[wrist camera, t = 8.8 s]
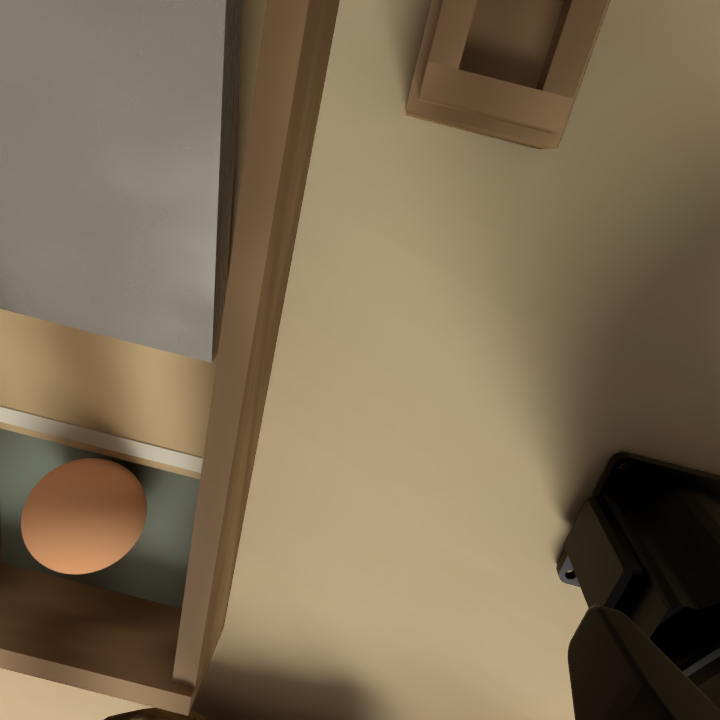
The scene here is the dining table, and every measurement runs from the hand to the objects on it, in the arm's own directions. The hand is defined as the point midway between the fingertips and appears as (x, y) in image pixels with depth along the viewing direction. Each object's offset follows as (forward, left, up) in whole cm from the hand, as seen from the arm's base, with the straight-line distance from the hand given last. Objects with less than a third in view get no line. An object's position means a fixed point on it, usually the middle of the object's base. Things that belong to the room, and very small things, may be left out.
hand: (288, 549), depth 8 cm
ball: (+9, +10, -10) cm, 16 cm away
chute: (+9, -4, -11) cm, 15 cm away
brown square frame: (-2, -9, -12) cm, 16 cm away
